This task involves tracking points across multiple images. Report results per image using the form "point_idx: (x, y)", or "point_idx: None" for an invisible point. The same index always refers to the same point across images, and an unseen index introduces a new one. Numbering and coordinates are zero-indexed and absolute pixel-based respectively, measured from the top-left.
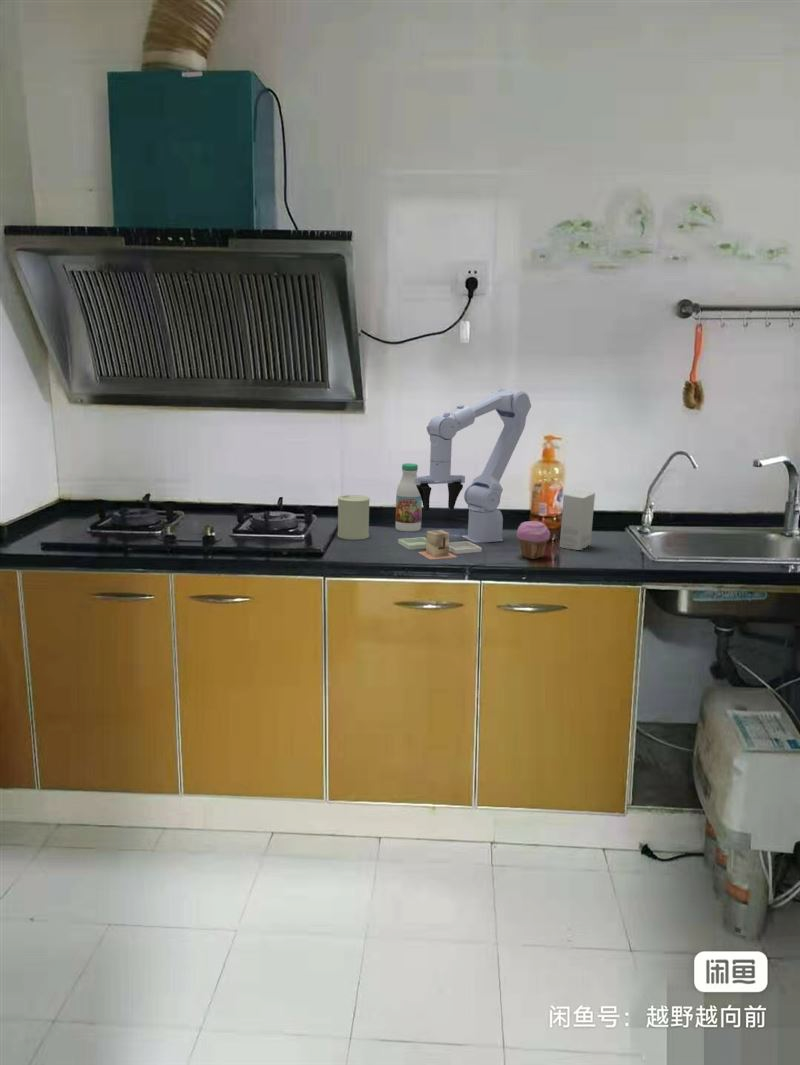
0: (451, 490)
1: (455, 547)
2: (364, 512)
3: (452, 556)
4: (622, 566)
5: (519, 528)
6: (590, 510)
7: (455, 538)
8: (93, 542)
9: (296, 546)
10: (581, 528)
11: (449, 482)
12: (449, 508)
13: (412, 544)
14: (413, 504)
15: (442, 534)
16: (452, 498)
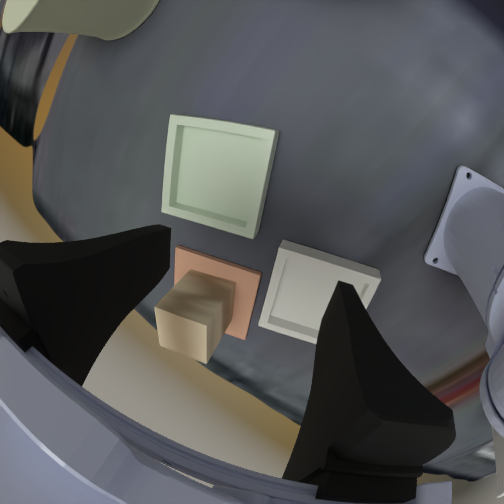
0: (319, 415)
1: (316, 272)
2: (63, 19)
3: (235, 330)
4: None
5: None
6: None
7: (432, 154)
8: None
9: (28, 75)
10: (494, 444)
11: (263, 487)
12: (332, 294)
13: (208, 156)
14: None
15: (184, 354)
16: (318, 374)
